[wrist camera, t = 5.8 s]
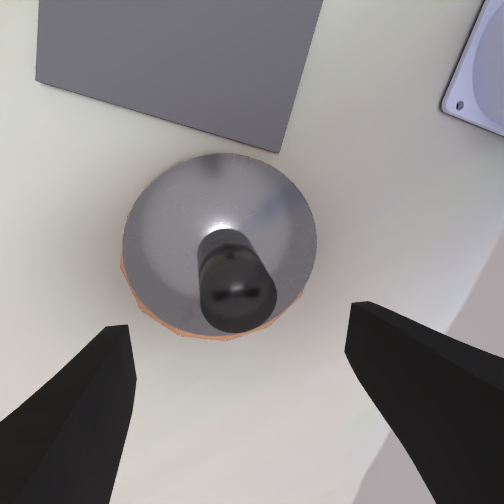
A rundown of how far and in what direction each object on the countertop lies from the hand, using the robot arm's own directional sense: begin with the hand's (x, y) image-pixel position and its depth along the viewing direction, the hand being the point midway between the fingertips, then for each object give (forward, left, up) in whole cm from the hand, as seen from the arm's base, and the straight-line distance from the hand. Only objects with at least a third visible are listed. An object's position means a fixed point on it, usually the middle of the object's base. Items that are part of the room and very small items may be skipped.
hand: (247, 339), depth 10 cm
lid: (0, -1, -7) cm, 7 cm away
